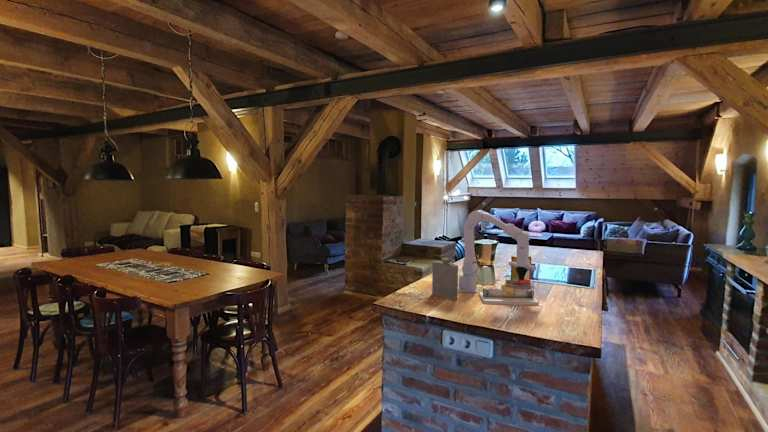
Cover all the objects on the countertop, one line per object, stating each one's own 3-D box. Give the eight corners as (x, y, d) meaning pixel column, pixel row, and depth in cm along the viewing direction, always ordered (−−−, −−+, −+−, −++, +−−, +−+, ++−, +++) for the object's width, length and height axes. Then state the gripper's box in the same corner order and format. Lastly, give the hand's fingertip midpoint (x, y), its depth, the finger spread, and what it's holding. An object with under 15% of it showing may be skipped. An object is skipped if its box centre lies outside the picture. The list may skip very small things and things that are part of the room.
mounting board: (483, 303, 188) (483, 300, 187) (479, 295, 202) (479, 292, 201) (538, 305, 185) (538, 302, 185) (530, 296, 199) (530, 293, 199)
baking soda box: (519, 285, 221) (520, 257, 220) (510, 282, 227) (511, 255, 226) (530, 282, 226) (531, 255, 225) (521, 280, 232) (522, 254, 231)
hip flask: (430, 294, 203) (431, 256, 201) (436, 292, 206) (436, 255, 204) (454, 301, 191) (455, 261, 189) (459, 299, 193) (460, 260, 192)
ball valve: (484, 299, 191) (484, 284, 191) (482, 295, 197) (482, 281, 197) (534, 300, 189) (534, 285, 189) (530, 297, 195) (531, 282, 194)
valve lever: (506, 283, 191) (507, 280, 191) (504, 282, 194) (504, 279, 194) (530, 283, 193) (530, 279, 193) (527, 281, 195) (527, 278, 195)
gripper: (505, 254, 198) (504, 280, 199) (530, 258, 186) (529, 286, 188) (513, 252, 202) (512, 277, 204) (539, 257, 191) (538, 284, 192)
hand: (521, 281), depth 196 cm, fingers closed, pressing on valve lever
